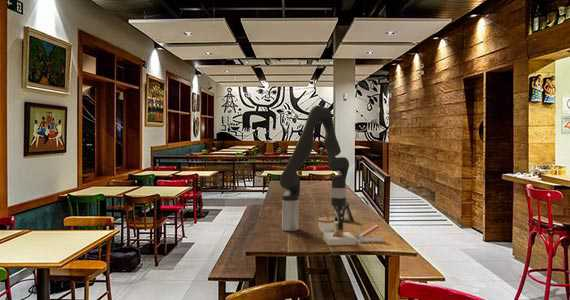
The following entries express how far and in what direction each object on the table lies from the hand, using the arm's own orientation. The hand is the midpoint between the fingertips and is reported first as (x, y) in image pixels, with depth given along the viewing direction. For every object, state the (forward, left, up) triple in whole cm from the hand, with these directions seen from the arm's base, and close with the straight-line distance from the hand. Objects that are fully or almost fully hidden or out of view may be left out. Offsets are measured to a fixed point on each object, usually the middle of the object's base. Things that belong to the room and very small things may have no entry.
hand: (338, 227), depth 223 cm
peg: (0, 0, -7) cm, 7 cm away
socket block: (0, 0, -7) cm, 7 cm away
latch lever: (+16, 0, -3) cm, 16 cm away
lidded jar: (-2, +20, -7) cm, 21 cm away
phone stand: (+15, +50, -7) cm, 53 cm away
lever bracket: (+16, 0, -7) cm, 18 cm away
